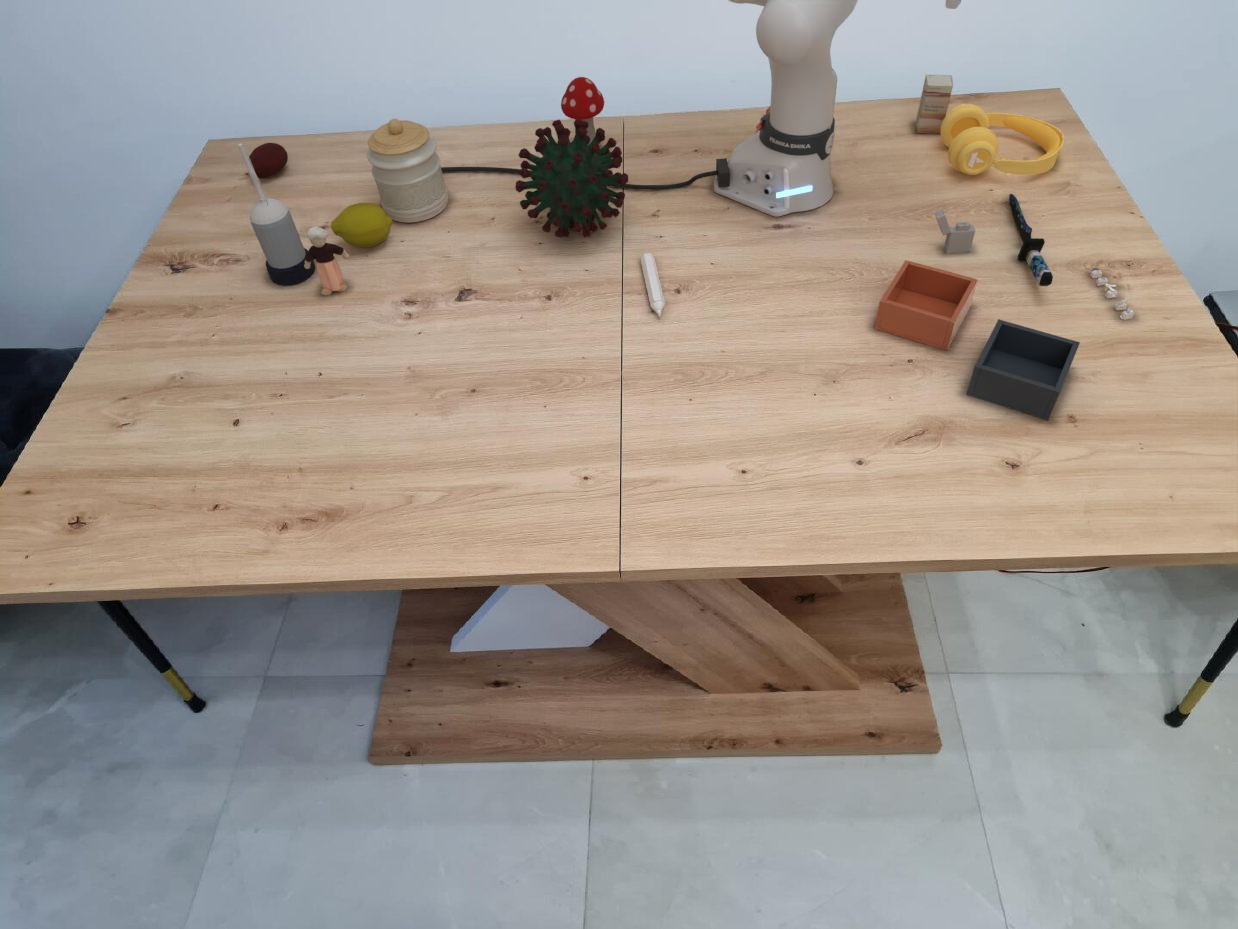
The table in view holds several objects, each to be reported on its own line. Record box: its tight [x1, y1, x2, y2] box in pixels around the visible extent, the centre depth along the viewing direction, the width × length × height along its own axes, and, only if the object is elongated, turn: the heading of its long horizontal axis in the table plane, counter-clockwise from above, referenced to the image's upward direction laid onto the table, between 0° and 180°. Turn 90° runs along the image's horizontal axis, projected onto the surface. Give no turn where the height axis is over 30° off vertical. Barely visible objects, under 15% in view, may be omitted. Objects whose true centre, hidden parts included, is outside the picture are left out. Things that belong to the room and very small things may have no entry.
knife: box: [1008, 193, 1054, 287], centre depth 152 cm, size 31×3×4 cm, turn 170°
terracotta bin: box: [874, 259, 979, 351], centre depth 142 cm, size 12×12×6 cm
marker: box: [640, 252, 666, 317], centre depth 152 cm, size 3×2×16 cm
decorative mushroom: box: [560, 76, 605, 148], centre depth 179 cm, size 10×9×15 cm
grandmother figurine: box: [304, 225, 350, 296], centre depth 155 cm, size 8×4×13 cm, turn 118°
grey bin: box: [966, 319, 1081, 421], centre depth 131 cm, size 12×12×6 cm
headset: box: [940, 103, 1066, 176], centre depth 169 cm, size 18×21×9 cm
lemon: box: [330, 202, 394, 248], centre depth 165 cm, size 11×8×8 cm
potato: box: [248, 142, 289, 179], centre depth 185 cm, size 8×9×6 cm
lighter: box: [934, 209, 977, 255], centre depth 152 cm, size 7×2×8 cm, turn 92°
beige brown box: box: [915, 74, 954, 135], centre depth 178 cm, size 5×4×10 cm
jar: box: [366, 118, 449, 223], centre depth 169 cm, size 13×13×18 cm
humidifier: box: [237, 143, 316, 287], centre depth 155 cm, size 8×8×25 cm
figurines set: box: [1089, 269, 1135, 321], centre depth 143 cm, size 12×3×3 cm, turn 6°
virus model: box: [515, 119, 629, 239], centre depth 159 cm, size 20×20×20 cm
